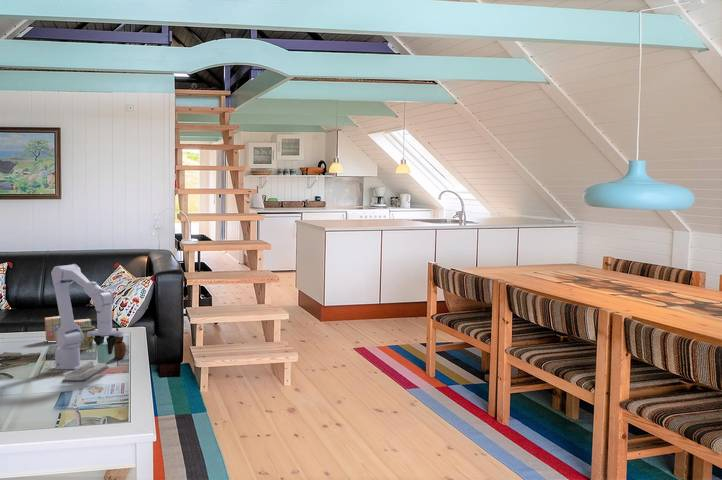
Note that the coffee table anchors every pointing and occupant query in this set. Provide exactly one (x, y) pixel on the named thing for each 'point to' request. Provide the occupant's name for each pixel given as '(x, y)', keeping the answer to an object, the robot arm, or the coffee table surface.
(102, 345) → the door panel
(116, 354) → the wooden figurine
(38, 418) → the coffee table surface
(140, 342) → the coffee table surface
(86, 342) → the ceramic cup
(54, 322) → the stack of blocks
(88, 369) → the track
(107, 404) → the coffee table surface
